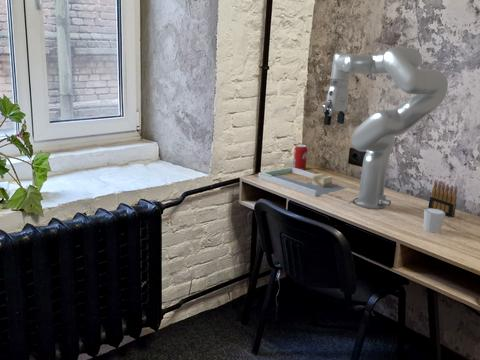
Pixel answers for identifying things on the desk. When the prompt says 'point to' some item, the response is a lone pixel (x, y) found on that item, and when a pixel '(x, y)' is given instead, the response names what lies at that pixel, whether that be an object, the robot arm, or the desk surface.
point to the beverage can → (300, 157)
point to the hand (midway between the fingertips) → (333, 124)
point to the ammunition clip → (443, 199)
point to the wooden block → (322, 180)
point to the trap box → (306, 188)
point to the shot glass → (433, 220)
